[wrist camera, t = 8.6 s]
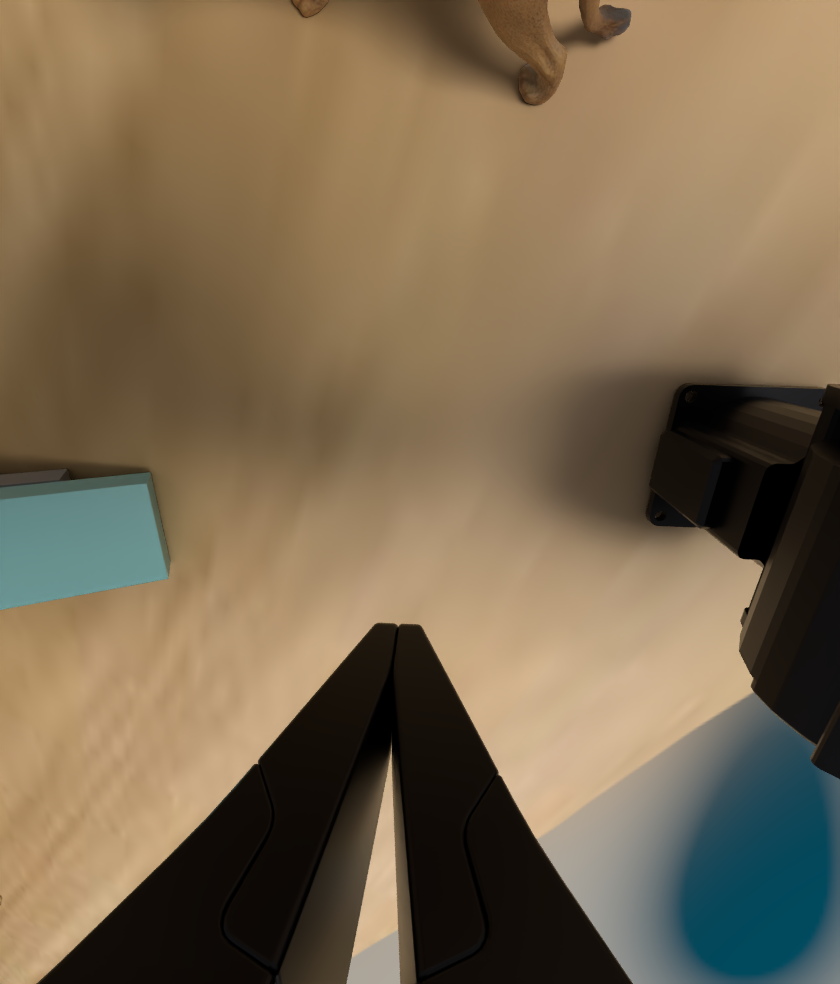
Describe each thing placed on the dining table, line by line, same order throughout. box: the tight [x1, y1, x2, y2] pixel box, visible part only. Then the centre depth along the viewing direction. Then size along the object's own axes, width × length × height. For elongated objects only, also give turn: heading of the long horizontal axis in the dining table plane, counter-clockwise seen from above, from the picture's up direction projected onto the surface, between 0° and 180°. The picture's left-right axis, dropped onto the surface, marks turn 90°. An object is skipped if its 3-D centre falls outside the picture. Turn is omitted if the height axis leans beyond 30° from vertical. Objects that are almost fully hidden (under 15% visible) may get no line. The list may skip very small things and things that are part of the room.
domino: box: [0, 472, 170, 610], centre depth 20 cm, size 2×5×10 cm
